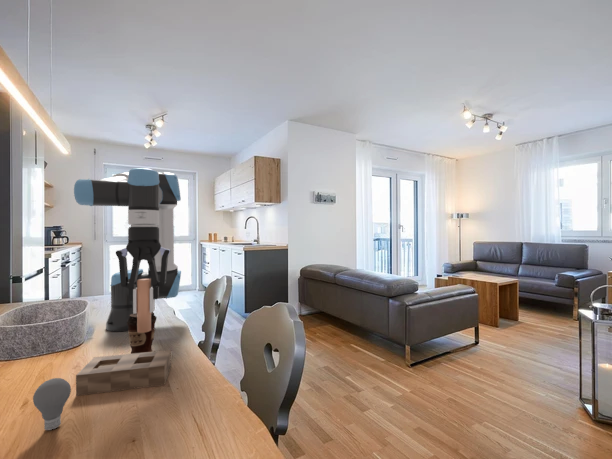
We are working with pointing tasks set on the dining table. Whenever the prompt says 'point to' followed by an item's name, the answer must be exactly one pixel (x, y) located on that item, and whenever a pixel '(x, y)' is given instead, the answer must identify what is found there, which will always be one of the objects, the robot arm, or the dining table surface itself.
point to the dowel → (143, 305)
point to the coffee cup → (140, 335)
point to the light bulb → (52, 401)
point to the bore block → (124, 372)
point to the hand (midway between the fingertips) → (144, 311)
